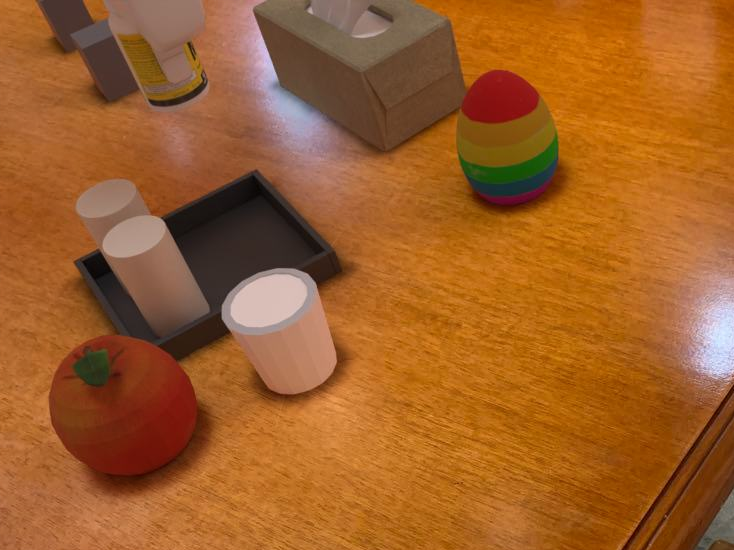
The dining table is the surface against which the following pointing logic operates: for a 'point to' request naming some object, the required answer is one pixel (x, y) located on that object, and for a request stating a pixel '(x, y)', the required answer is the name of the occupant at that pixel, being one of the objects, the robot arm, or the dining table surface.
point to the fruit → (122, 405)
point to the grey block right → (104, 60)
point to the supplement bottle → (157, 69)
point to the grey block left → (65, 19)
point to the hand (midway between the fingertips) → (163, 61)
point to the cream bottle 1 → (109, 210)
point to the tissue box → (366, 63)
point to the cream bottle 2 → (155, 273)
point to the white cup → (282, 329)
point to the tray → (219, 257)
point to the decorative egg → (506, 139)
